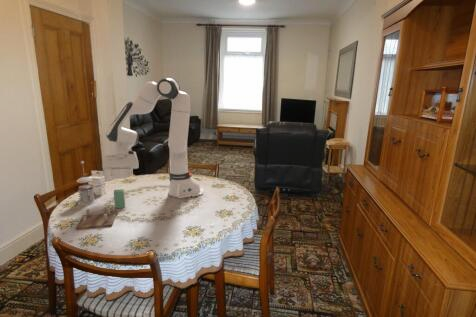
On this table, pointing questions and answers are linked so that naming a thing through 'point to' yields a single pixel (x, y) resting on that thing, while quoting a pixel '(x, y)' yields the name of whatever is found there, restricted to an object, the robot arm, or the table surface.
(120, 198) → the green rectangular block
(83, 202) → the french press
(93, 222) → the standoff cradle
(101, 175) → the ink cartridge box
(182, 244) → the table surface
